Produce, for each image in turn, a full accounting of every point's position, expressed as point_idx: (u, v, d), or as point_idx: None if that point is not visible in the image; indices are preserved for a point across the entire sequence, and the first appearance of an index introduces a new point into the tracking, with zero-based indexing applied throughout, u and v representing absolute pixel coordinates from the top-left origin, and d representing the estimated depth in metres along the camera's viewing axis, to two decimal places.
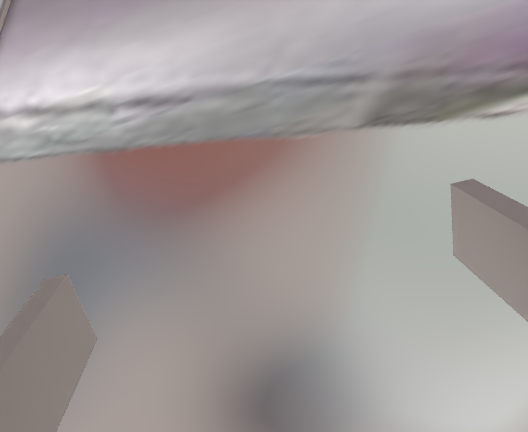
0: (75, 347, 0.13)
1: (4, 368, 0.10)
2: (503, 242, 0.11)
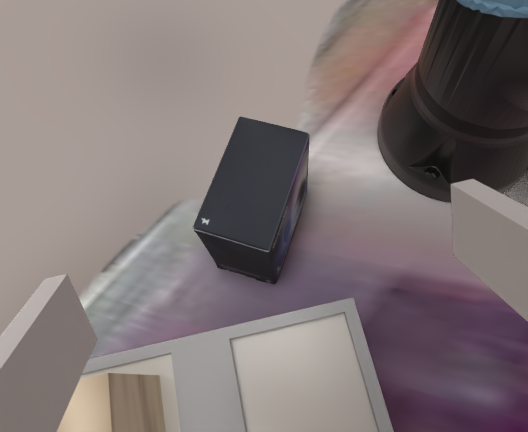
0: (75, 347, 0.13)
1: (4, 368, 0.10)
2: (503, 242, 0.11)
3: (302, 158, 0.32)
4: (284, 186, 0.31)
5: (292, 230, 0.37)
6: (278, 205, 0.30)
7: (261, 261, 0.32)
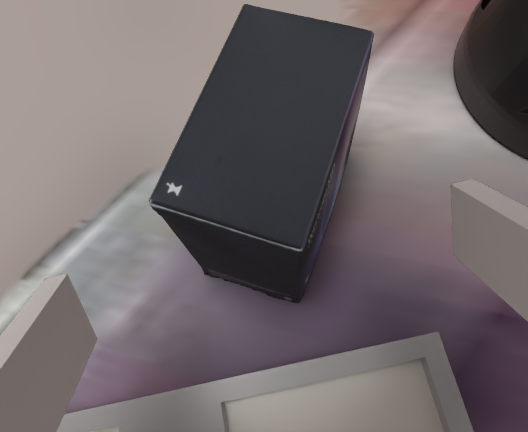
0: (75, 347, 0.13)
1: (4, 368, 0.10)
2: (503, 242, 0.11)
3: (361, 75, 0.17)
4: (330, 123, 0.16)
5: (330, 214, 0.22)
6: (319, 159, 0.15)
7: (282, 268, 0.17)
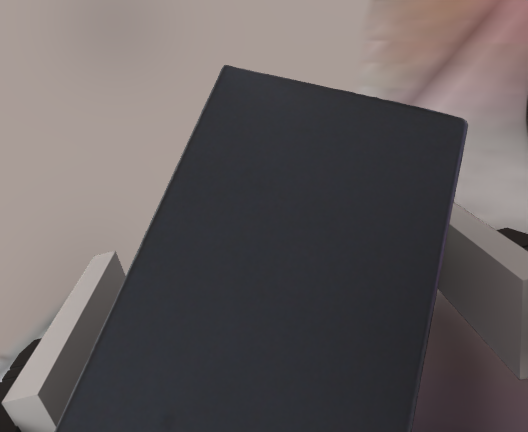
0: None
1: (75, 328, 0.10)
2: None
3: None
4: (401, 331, 0.08)
5: None
6: (385, 423, 0.07)
7: None
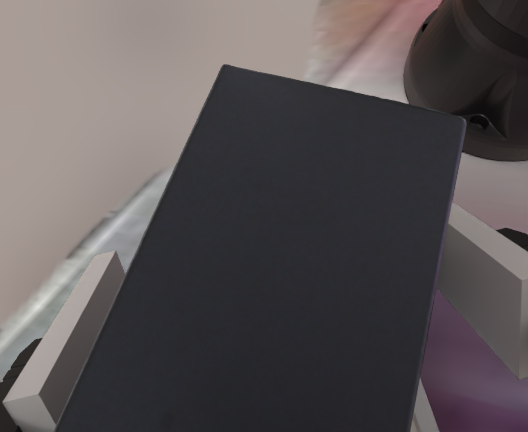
0: None
1: (76, 328, 0.11)
2: None
3: None
4: (401, 329, 0.08)
5: None
6: (384, 421, 0.07)
7: None
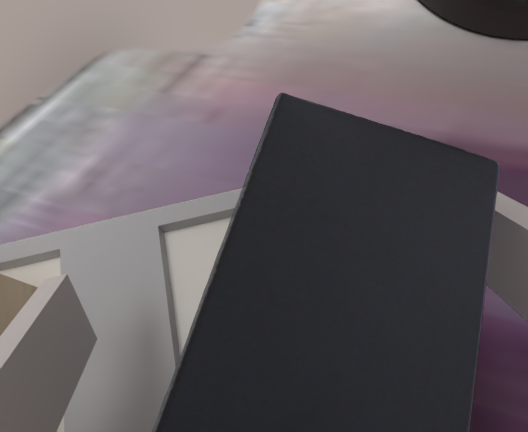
0: (75, 347, 0.13)
1: (4, 368, 0.10)
2: (503, 242, 0.11)
3: None
4: (457, 354, 0.09)
5: None
6: None
7: None
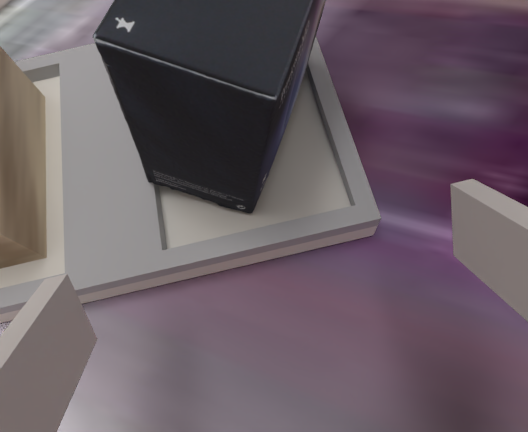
0: (75, 347, 0.13)
1: (4, 368, 0.10)
2: (503, 242, 0.11)
3: None
4: None
5: (290, 114, 0.21)
6: (294, 9, 0.14)
7: (245, 143, 0.15)
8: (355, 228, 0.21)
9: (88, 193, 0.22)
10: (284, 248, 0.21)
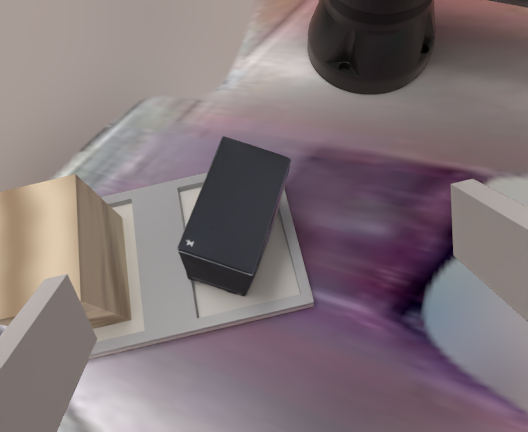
0: (75, 347, 0.13)
1: (4, 368, 0.10)
2: (503, 242, 0.11)
3: (284, 183, 0.33)
4: (267, 210, 0.32)
5: None
6: (261, 229, 0.32)
7: (240, 280, 0.33)
8: (301, 306, 0.39)
9: (154, 284, 0.40)
10: (262, 316, 0.39)
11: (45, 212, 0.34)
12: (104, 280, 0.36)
